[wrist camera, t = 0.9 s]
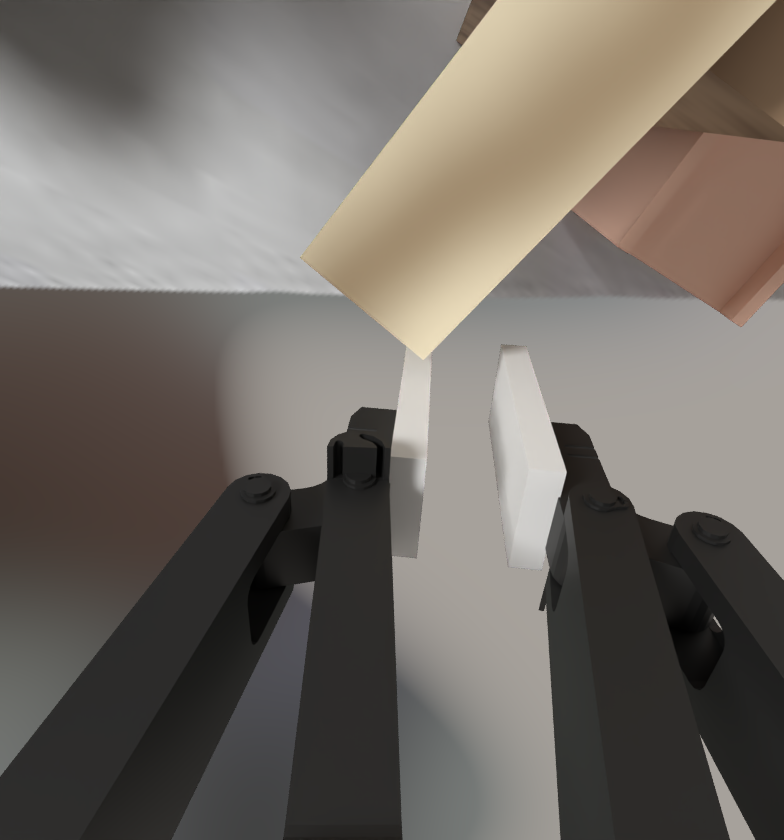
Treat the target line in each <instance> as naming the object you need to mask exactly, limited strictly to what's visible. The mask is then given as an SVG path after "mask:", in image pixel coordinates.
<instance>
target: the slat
mask: <svg viewBox="0 0 784 840" xmlns="http://www.w3.org/2000/svg"><path fill="white" fill-rule="evenodd" d="M775 1H776V0H497V1H496V2H495V3H494V5H493V6H492V7H491V9H490V10H489V11H488V13H487V14H486V15H485V16H484V18H483V19H482V20H481V22H480V23H479V24H478V26H477V27H476V28H475V30H474V31H473V32H472V33H471V35H470V36H469V37H468V39H467V40H466V41H465V43H464V44H463V45H462V47H461V48H460V49H459V50H458V52H457V53H456V54H455V56H454V57H453V58H452V60H451V61H450V62H449V64H448V65H447V66H446V67H445V69H444V70H443V71H442V73H441V74H440V75H439V77H438V78H437V79H436V80H435V82H434V83H433V84H432V86H431V87H430V88H429V90H428V91H427V92H426V94H425V95H424V96H423V97H422V99H421V100H420V101H419V103H418V104H417V105H416V107H415V108H414V109H413V111H412V112H411V113H410V114H409V116H408V117H407V118H406V120H405V121H404V122H403V124H402V125H401V126H400V128H399V129H398V130H397V131H396V133H395V134H394V135H393V137H392V138H391V139H390V141H389V142H388V143H387V145H386V146H385V147H384V148H383V150H382V151H381V152H380V154H379V155H378V156H377V158H376V159H375V160H374V161H373V163H372V164H371V165H370V167H369V168H368V169H367V171H366V172H365V173H364V175H363V176H362V177H361V178H360V180H359V181H358V182H357V184H356V185H355V186H354V188H353V189H352V190H351V192H350V193H349V194H348V195H347V197H346V198H345V199H344V201H343V202H342V203H341V205H340V206H339V207H338V209H337V210H336V211H335V212H334V214H333V215H332V216H331V218H330V219H329V220H328V222H327V223H326V224H325V226H324V227H323V228H322V229H321V231H320V232H319V233H318V235H317V236H316V237H315V239H314V240H313V241H312V242H311V244H310V245H309V246H308V248H307V249H306V250H305V252H304V253H303V254H302V256H301V257H300V258H301V259H302V260H303V261H304V262H306V263H307V264H308V265H309V266H310V267H312V268H313V269H314V270H315V271H316V272H318V273H319V274H320V275H321V276H323V277H324V278H325V279H326V280H327V281H329V282H330V283H331V284H332V285H333V286H335V287H336V288H337V289H338V290H339V291H341V292H342V293H343V294H344V295H345V296H347V297H348V298H349V299H350V300H351V301H353V302H354V303H355V304H356V305H357V306H359V307H360V308H361V309H362V310H363V311H365V312H366V313H367V314H368V315H369V316H371V317H372V318H373V319H374V320H375V321H377V322H378V323H379V324H380V325H381V326H383V327H384V328H385V329H386V330H388V331H389V332H390V333H391V334H392V335H394V336H395V337H396V338H397V339H398V340H400V341H401V342H402V343H403V344H404V345H406V346H407V347H408V348H409V349H410V350H412V351H413V352H414V353H415V354H416V355H418V356H419V357H420V358H421V359H422V360H424V359H425V358H426V357H427V356H428V355H429V354H430V353H431V352H432V351H433V350H434V349H435V348H436V347H437V346H438V345H439V344H440V343H441V342H442V341H443V340H444V339H445V338H446V337H447V336H448V335H449V334H450V333H451V332H452V330H453V329H454V328H456V327H457V325H458V324H459V323H460V322H461V321H462V320H463V319H464V318H465V317H466V316H467V315H468V314H469V313H470V312H471V311H472V310H473V309H474V308H475V307H476V306H477V305H478V304H479V303H480V302H481V301H482V300H483V299H484V298H485V297H486V296H487V295H488V294H489V293H490V292H491V291H492V290H493V289H494V288H495V287H496V286H497V285H498V284H499V283H500V282H501V281H502V280H503V279H504V278H505V277H506V276H507V274H508V273H509V272H510V271H511V270H512V269H513V268H514V267H515V266H516V265H517V264H518V263H519V262H520V261H521V260H522V259H523V258H524V257H525V256H526V255H527V254H528V253H529V252H530V251H531V250H532V249H533V248H534V247H535V246H536V245H537V244H538V243H539V242H540V241H541V240H542V239H543V238H544V237H545V236H546V235H547V234H548V233H549V232H550V231H551V230H552V229H553V228H554V227H555V226H556V225H557V223H558V222H559V221H560V220H561V219H562V218H563V217H564V216H565V215H566V214H567V213H568V212H569V211H570V210H571V209H572V208H573V207H574V206H575V205H576V204H577V203H578V202H579V201H580V200H581V199H582V198H583V197H584V196H585V195H586V194H587V193H588V192H589V191H590V190H591V189H592V188H593V187H594V186H595V185H596V184H597V183H598V182H599V181H600V180H601V179H602V178H603V177H604V176H605V175H606V174H607V172H608V171H609V170H610V169H611V168H612V167H613V166H614V165H615V164H616V163H617V162H618V161H619V160H620V159H621V158H622V157H623V156H624V155H625V154H626V153H627V152H628V151H629V150H630V149H631V148H632V147H633V146H634V145H635V144H636V143H637V142H638V141H639V140H640V139H641V138H642V137H643V136H644V135H645V134H646V133H647V132H648V131H649V130H650V129H651V128H652V127H653V126H654V125H655V124H656V123H657V122H658V120H659V119H660V118H661V117H662V116H663V115H664V114H665V113H666V112H667V111H668V110H669V109H670V108H671V107H672V106H673V105H674V104H675V103H676V102H677V101H678V100H679V99H680V98H681V97H682V96H683V95H684V94H685V93H686V92H687V91H688V90H689V89H690V88H691V87H692V86H693V85H694V84H695V83H696V82H697V81H698V80H699V79H700V78H701V77H702V76H703V75H704V74H705V73H706V72H707V71H708V69H709V68H710V67H711V66H712V65H713V64H714V63H715V62H716V61H717V60H718V59H719V58H720V57H721V56H722V55H723V54H724V53H725V52H726V51H727V50H728V49H729V48H730V47H731V46H732V45H733V44H734V43H735V42H736V41H737V40H738V39H739V38H740V37H741V36H742V35H743V34H744V33H745V32H746V31H747V30H748V29H749V28H750V27H751V26H752V25H753V24H754V23H755V22H756V21H757V20H758V18H759V17H760V16H761V15H762V14H763V13H764V12H765V11H766V10H767V9H768V8H769V7H770V6H771V5H772V4H773V3H774V2H775Z"/></svg>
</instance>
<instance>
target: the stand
mask: <svg viewBox="0 0 784 840" xmlns="http://www.w3.org/2000/svg"><path fill="white" fill-rule="evenodd" d="M496 1H497V0H472V1H471V4H470V7H469V9H468V12H467V14H466V17H465V19H464V22H463V24H462V27H461V30H460V32H459V35H458V37H457V40H456V41H457V42H459V43H460V44H462V45H463V44H464V43H465V41H466V40H467V39H468V37H469V36H470V35H471V33H472V32H473V31H474V30H475V28H476V27H477V26H478V24H479V23H480V22H481V20H482V19H483V18H484V16H485V15H486V14H487V13H488V11H489V10H490V9H491V7H492V6H493V5H494V3H495V2H496ZM654 126H656V127H664V128H672V129H680V130H689V131H697V132H705V133H713V134H721V135H730V136H738V137H746V138H754V139H763V140H771V141H779V142H784V0H776V1H775V2H774V3H773V4H772V5H771V6H770V7H769V8H768V9H767V10H766V11H765V12H764V13H763V14H762V15H761V16H760V17H759V18H758V20H757V21H756V22H755V23H754V24H753V25H752V26H751V27H750V28H749V29H748V30H747V31H746V32H745V33H744V34H743V35H742V36H741V37H740V38H739V39H738V40H737V41H736V42H735V43H734V44H733V45H732V46H731V47H730V48H729V49H728V50H727V51H726V52H725V53H724V54H723V55H722V56H721V57H720V58H719V59H718V60H717V61H716V62H715V63H714V64H713V65H712V66H711V67H710V68H709V69H708V71H707V72H706V73H705V74H704V75H703V76H702V77H701V78H700V79H699V80H698V81H697V82H696V83H695V84H694V85H693V86H692V87H691V88H690V89H689V90H688V91H687V92H686V93H685V94H684V95H683V96H682V97H681V98H680V99H679V100H678V101H677V102H676V103H675V104H674V105H673V106H672V107H671V108H670V109H669V110H668V111H667V112H666V113H665V114H664V115H663V116H662V117H661V118H660V119H659V120H658V122H657V123H656V124H655V125H654Z"/></svg>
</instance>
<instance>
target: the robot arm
mask: <svg viewBox="0 0 784 840" xmlns="http://www.w3.org/2000/svg"><path fill="white" fill-rule="evenodd" d="M431 364H432V352H431V353H430V354H429V355H428V356H427V357H426V358H425V359H424V360H422V359H421V358H420V357H419V356H418V355H416V354H415V353H414V352H413V351H412V350H410V349H409V348H408V347H407V346H406V354H405V360H404V366H403V373H402V380H401V386H400V393H399V400H398V406H397V410H389V409H378V408H365V407H361V408H360V409H359V410H358V411H357V412H356V413H354V414H353V415H352V416H351V419H350V422H349V426H348V429H347V432H345V433H342V434H338V435H337V436H335V437H334V438H332V439H331V440H330V442H329V444H328V446H327V481H325V482H323V483H322V484H319V485H316V486H313V487H309V488H303V489H295V490H291V489H290V487H289V484H288V482H286V481H285V480H284V479H282V478H281V477H279V476H276V475H273V474H264V473H257V474H251V475H246V476H244V477H242V478H239V479H237V480H235V481H234V482H233V483H231V484H230V485H229V486H228V487H227V488H226V490H225V491H224V492H223V493H222V495H221V496H220V497H219V499H218V500H217V501H216V503H215V504H214V505H213V506H212V507H211V509H210V510H209V511H208V513H207V514H206V515H205V516H204V518H203V519H202V520H201V522H200V523H199V524H198V525H197V527H196V528H195V529H194V531H193V532H192V533H191V534H190V535H189V537H188V538H187V539H186V541H185V542H184V544H182V546H181V547H180V548H179V550H178V551H177V552H176V553H175V555H174V556H173V557H172V559H171V560H170V561H169V562H168V564H167V565H166V566H165V567H164V569H163V570H162V571H161V573H160V574H159V575H158V576H157V578H156V579H155V580H154V581H153V583H152V584H151V585H150V586H149V588H148V589H147V590H146V592H145V593H144V594H143V595H142V597H141V598H140V599H139V600H138V602H137V603H136V604H135V606H134V607H133V608H132V609H131V611H130V612H129V613H128V615H127V616H126V617H125V618H124V620H123V621H122V622H121V623H120V625H119V626H118V628H117V629H116V630H115V631H114V632H113V634H112V635H111V636H110V638H109V639H108V640H107V641H106V643H105V644H104V645H103V646H102V648H101V649H100V650H99V652H98V653H97V654H96V655H95V657H94V658H93V659H92V660H91V662H90V663H89V664H88V665H87V667H86V668H85V669H84V671H83V672H82V673H81V674H80V676H79V677H78V678H77V679H76V681H75V682H74V683H73V685H72V686H71V687H70V688H69V690H68V691H67V692H66V694H65V695H64V696H63V697H62V699H61V700H60V701H59V703H58V704H57V705H56V706H55V708H54V709H53V710H52V712H51V713H50V714H49V715H48V716H47V718H46V719H45V720H44V722H43V723H42V724H41V725H40V727H39V728H38V729H37V731H36V732H35V733H34V734H33V736H32V737H31V738H30V739H29V741H28V742H27V743H26V745H25V746H24V747H23V748H22V750H21V751H20V752H19V753H18V755H17V756H16V757H15V758H14V760H13V761H12V762H11V764H10V765H9V766H8V768H7V769H6V770H5V771H4V773H3V774H2V775H1V777H0V840H171V839H172V837H173V835H174V833H175V831H176V829H177V827H178V825H179V823H180V821H181V819H182V817H183V814H184V813H185V810H186V808H187V806H188V804H189V802H190V800H191V798H192V796H193V794H194V792H195V790H196V788H197V786H198V784H199V782H200V780H201V778H202V775H203V773H204V772H205V769H206V767H207V765H208V763H209V761H210V759H211V757H212V755H213V753H214V751H215V749H216V747H217V745H218V743H219V741H220V739H221V736H222V734H223V733H224V730H225V728H226V726H227V724H228V722H229V720H230V718H231V716H232V714H233V712H234V710H235V708H236V706H237V704H238V702H239V700H240V698H241V696H242V693H243V692H244V689H245V687H246V685H247V683H248V681H249V679H250V677H251V675H252V673H253V671H254V669H255V667H256V665H257V663H258V661H259V659H260V657H261V654H262V652H263V650H264V648H265V646H266V644H267V642H268V640H269V638H270V636H271V634H272V632H273V630H274V628H275V626H276V624H277V622H278V620H279V618H280V615H281V614H282V612H283V609H284V607H285V605H286V603H287V601H288V599H289V597H290V595H291V593H292V591H293V588H294V584H300V583H305V582H312V581H315V584H314V593H313V601H312V609H311V617H310V625H309V635H308V642H307V650H306V658H305V666H304V675H303V683H302V691H301V700H300V709H299V716H298V724H297V732H296V740H295V749H294V757H293V765H292V774H291V781H290V790H289V799H288V806H287V814H286V823H285V830H284V837H283V840H402V822H401V794H400V768H399V741H398V740H399V739H398V711H397V684H396V658H395V657H396V656H395V629H394V601H393V576H392V575H393V573H392V556H399V557H410V558H417V550H418V540H419V531H420V521H421V512H422V502H423V491H424V482H425V473H426V463H427V447H428V426H429V405H430V385H431ZM489 428H490V436H491V443H492V451H493V459H494V466H495V473H496V481H497V488H498V496H499V504H500V511H501V519H502V526H503V534H504V541H505V549H506V556H507V563H508V567H511V568H521V569H532V570H542V567H543V563H544V559H545V555H546V554H547V558H548V562H549V566H550V569H549V572H548V576H547V580H546V584H545V587H544V591H543V595H542V599H541V603H540V607H539V610H541V611H544V609H545V605H546V607H547V623H548V638H549V639H548V640H549V655H550V671H551V672H550V673H551V688H552V705H553V722H554V738H555V754H556V770H557V787H558V803H559V819H560V836H561V840H730V838H729V835H728V831H727V828H726V824H725V821H724V817H723V814H722V811H721V807H720V803H719V800H718V796H717V793H716V789H715V786H714V783H713V779H712V776H711V772H710V769H709V765H708V762H707V758H706V755H705V752H704V748H703V745H702V741H701V738H700V735H701V737H702V739H703V741H704V743H705V745H706V747H707V749H708V751H709V752H710V754H711V756H712V758H713V760H714V762H715V764H716V766H717V768H718V770H719V771H720V773H721V775H722V777H723V779H724V781H725V783H726V785H727V786H728V788H729V790H730V792H731V794H732V796H733V798H734V800H735V802H736V804H737V805H738V807H739V809H740V811H741V813H742V815H743V817H744V819H745V821H746V822H747V824H748V826H749V828H750V830H751V832H752V834H753V836H754V837H755V840H784V580H783V579H782V578H781V577H780V576H779V575H778V574H777V572H776V571H775V570H774V569H773V568H772V567H771V565H770V564H769V563H768V562H767V561H766V560H765V558H764V557H763V556H762V555H761V554H760V553H759V551H758V550H757V549H756V548H755V547H754V546H753V544H752V543H751V542H750V541H749V540H748V539H747V538H746V536H745V535H744V534H743V533H742V532H741V531H740V530H739V529H737V528H736V527H735V526H734V525H733V524H731V523H729V522H727V521H725V520H724V519H722V518H720V517H718V516H715V515H712V514H708V513H701V512H695V511H693V512H686V513H682V514H681V515H679V516H678V517H677V518H676V520H675V523H674V525H673V526H672V525H668V524H665V523H662V522H658V521H655V520H651V519H648V518H646V517H643V516H640V515H638V514H636V513H635V509H634V506H633V505H632V503H631V501H630V499H629V498H627V497H626V496H625V495H624V494H622V493H621V492H620V491H618V490H616V489H613V488H611V486H610V484H609V482H608V479H607V477H606V475H605V472H604V470H603V467H602V465H601V463H600V460H599V459H598V456H597V453H596V451H595V450H594V446H593V444H592V441H591V439H590V436H589V435H588V434H587V433H586V432H585V431H584V430H582V429H581V428H580V427H579V426H578V425H576V424H565V423H554V422H550V418H549V415H548V413H547V409H546V406H545V403H544V400H543V397H542V393H541V390H540V387H539V384H538V381H537V378H536V375H535V372H534V369H533V365H532V363H531V359H530V356H529V353H528V350H527V347H525V346H514V345H501V349H500V355H499V362H498V368H497V374H496V380H495V387H494V393H493V399H492V405H491V411H490V417H489ZM714 616H715V617H716V619H717V620H718V622H719V624H720V626H721V628H722V630H721V628H720V627H719V626H718V625H717V623H716V622H715V620H714V619H713V617H714Z"/></svg>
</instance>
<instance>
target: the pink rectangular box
mask: <svg viewBox="0 0 784 840" xmlns="http://www.w3.org/2000/svg"><path fill="white" fill-rule="evenodd" d="M571 210H572V211H573V212H574V213H576V214H577V215H578V216H579V217H581V218H582V219H583V220H584V221H586V222H587V223H588V224H589V225H591V226H592V227H593V228H594V229H596V230H597V231H598V232H599V233H601V234H602V235H603V236H604V237H606V238H607V239H608V240H609V241H611V242H612V243H613V244H614V245H616V246H617V247H619V248H620V249H622V250H623V251H625V252H626V253H630V254H631V255H633V256H634V257H636V258H637V259H639V260H640V261H642V262H643V263H645V264H646V265H648V266H649V267H651V268H653V269H654V270H656V271H657V272H659V273H660V274H662V275H663V276H665V277H666V278H668V279H669V280H671V281H672V282H674V283H676V284H677V285H679V286H680V287H682V288H683V289H685V290H686V291H688V292H689V293H691V294H692V295H694V296H696V297H697V298H699V299H700V300H702V301H703V302H705V303H706V304H708V305H710V306H711V307H712V308H714V309H715V310H717V311H719V312H720V313H721V314H723V315H724V316H725V317H727V318H728V319H729V320H731V321H732V322H734V323H735V324H737V325H738V326H740V327H742V326H743V325H744V324H745V323H746V322H747V321H748V320H749V319H750V318H751V317H752V315H753V314H754V313H755V312H756V311H757V310H758V309H759V308H760V307H761V306H762V305H763V304H764V303H765V302H766V301H767V300H768V299H769V298H770V296H771V295H772V294H773V293H774V292H775V291H776V290H777V289H778V288H779V287H780V286H781V285H782V284H783V283H784V142H779V141H771V140H763V139H754V138H746V137H738V136H730V135H721V134H713V133H705V132H697V131H689V130H680V129H672V128H664V127H656V126H653V127H652V128H651V129H650V130H649V131H648V132H647V133H646V134H645V135H644V136H643V137H642V138H641V139H640V140H639V141H638V142H637V143H636V144H635V145H634V146H633V147H632V148H631V149H630V150H629V151H628V152H627V153H626V154H625V155H624V156H623V157H622V158H621V159H620V160H619V161H618V162H617V163H616V164H615V165H614V166H613V167H612V168H611V169H610V170H609V171H608V172H607V174H606V175H605V176H604V177H603V178H602V179H601V180H600V181H599V182H598V183H597V184H596V185H595V186H594V187H593V188H592V189H591V190H590V191H589V192H588V193H587V194H586V195H585V196H584V197H583V198H582V199H581V200H580V201H579V202H578V203H577V204H576V205H575V206H574V207H573V208H572V209H571Z"/></svg>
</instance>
